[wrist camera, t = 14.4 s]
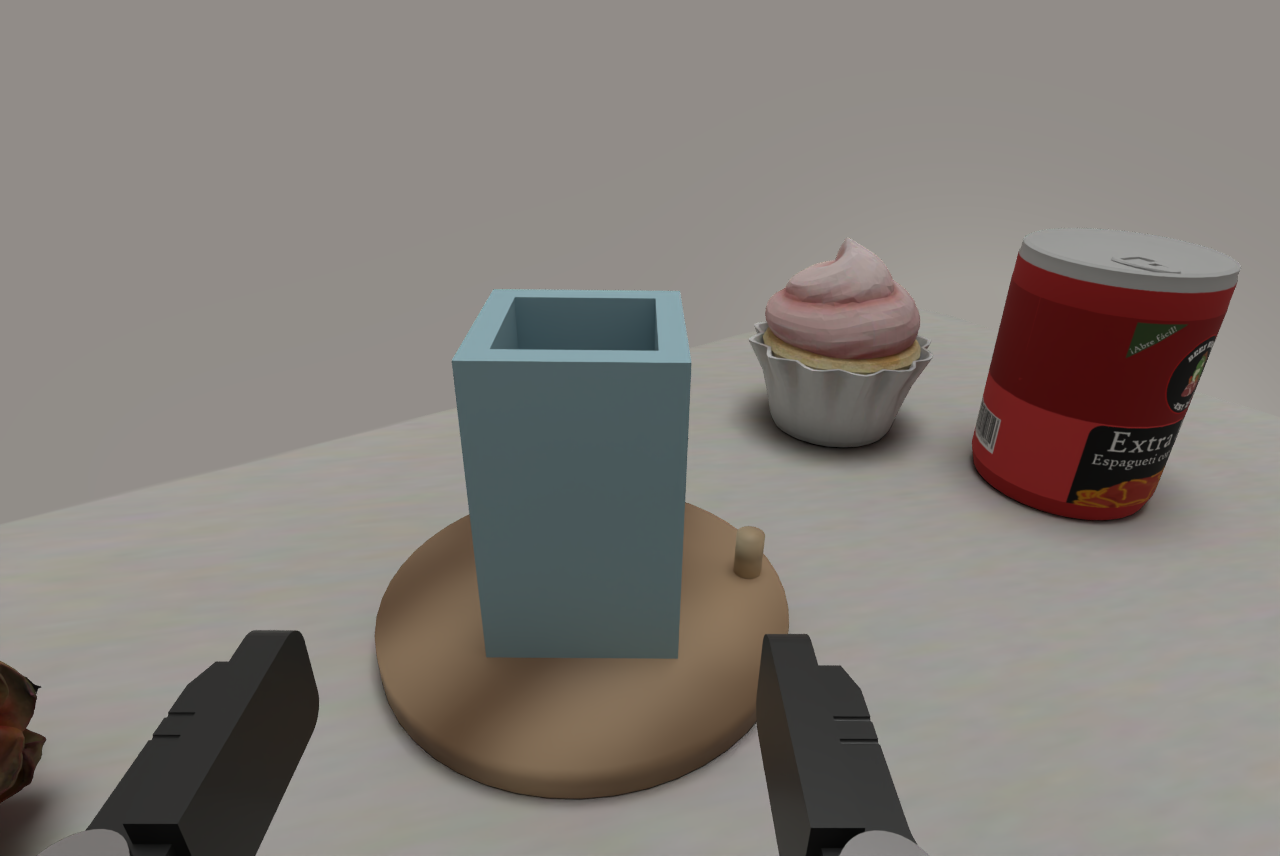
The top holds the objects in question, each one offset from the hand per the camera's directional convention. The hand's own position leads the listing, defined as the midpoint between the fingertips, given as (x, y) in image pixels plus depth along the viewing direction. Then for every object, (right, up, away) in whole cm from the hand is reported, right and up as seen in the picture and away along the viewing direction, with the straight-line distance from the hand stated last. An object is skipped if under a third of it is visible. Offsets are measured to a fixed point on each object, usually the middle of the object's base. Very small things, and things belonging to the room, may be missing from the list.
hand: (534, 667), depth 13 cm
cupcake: (+12, +4, +28) cm, 30 cm away
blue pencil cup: (0, -2, +13) cm, 13 cm away
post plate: (0, -3, +13) cm, 14 cm away
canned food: (+22, +2, +23) cm, 31 cm away
